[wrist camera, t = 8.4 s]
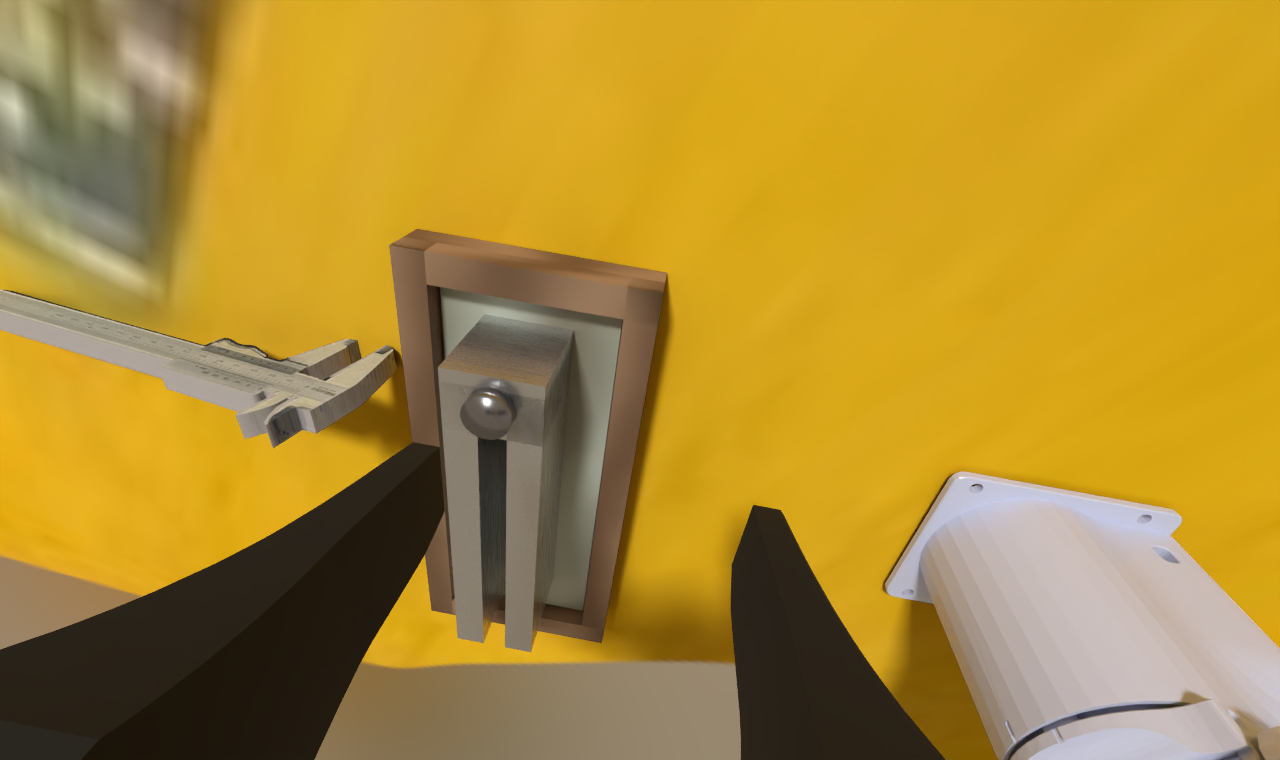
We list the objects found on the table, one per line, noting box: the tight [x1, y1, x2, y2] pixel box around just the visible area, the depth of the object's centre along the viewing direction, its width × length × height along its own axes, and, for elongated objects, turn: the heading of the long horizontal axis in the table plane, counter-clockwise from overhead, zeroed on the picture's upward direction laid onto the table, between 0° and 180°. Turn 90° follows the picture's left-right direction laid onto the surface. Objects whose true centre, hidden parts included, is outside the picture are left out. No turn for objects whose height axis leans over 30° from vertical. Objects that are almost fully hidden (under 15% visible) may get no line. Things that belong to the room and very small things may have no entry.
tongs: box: [438, 314, 574, 652], centre depth 22 cm, size 3×14×5 cm, turn 172°
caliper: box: [0, 289, 397, 448], centre depth 21 cm, size 20×1×6 cm, turn 84°
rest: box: [389, 229, 667, 643], centre depth 24 cm, size 9×20×2 cm, turn 172°
